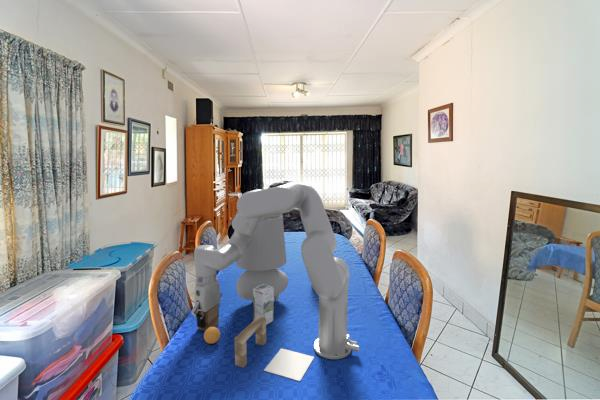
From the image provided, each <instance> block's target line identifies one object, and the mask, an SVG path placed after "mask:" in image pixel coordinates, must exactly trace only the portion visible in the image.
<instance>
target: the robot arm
mask: <svg viewBox="0 0 600 400" xmlns="http://www.w3.org/2000/svg"><path fill="white" fill-rule="evenodd" d="M296 208H297V209H298V210H299V213H300V220H301V223H302V226H303V229H304V232H305V235H306V236H305V238H304V239H303V241H302V244H301V248H300V253H301V254H300V255H301V257H302V261H303V264H304V267H305V270H306V272H307V275H308V279H309V281H310V283H311V284H312V286H311V287H312V289H313V291H314V292H315V294H316V295H318V338H317V339H315V341H314V344H313V349H314V351H315V352H316V354H317V355H318V356H319V357H321V358H324V359H327V360H328V359H329V360H341V359H344V358H346V357H348V356H349V355H350V353H351V351H354V352H356V353H357V352H359V353H360V345H358V341H356V340H351V339H350V334H348V308H349V307H348V306H349V305H348V303H349V299H348V298H349V284H350V269H349V266H348V264H347V262H345V260H344V259H342V258H340V257H337V256H334V253H335V251H336V248H337V243H338V242H337V239H336V236H335V232H334V231H333V228H332V224H331V222H330V219H329V215H328V214H327V211H326V208H325V206H324V203H323V200H322V198H321V196H320V194H319V192H318V191H317V190H316V189H315V188H314V187H312V186H311V185H309V184H307V183H304V182H298V181H293V182H286V183H285V184H281V185H278V186H274V187H269V188H265V189H260V188H259V189H257V188H256V189H253V190H250V191H246V192H244V193H242V194H241V195H240V196H239V198H238V200H237V202H236V210H237V213H236V214H235V216H234V218H233V219H232V221H231V226H232V229H233V230H234V231H233V233H232V235H231V237H230V238H229V240H228V241H227V243H226V244H224V245H222V246H220V247H219V248H215V246H214V245H211V244H201V245H198V246H196V247H195V248H194V251H193V252H194V256H193V257H194V270H195V271H194V272H195V273H194V274H195V287H194V305H193V308H192V310H191V311H190V313H191V315H192V316H193V317H195V318H196V327H197V328H198V327H199V328H203V329H204V328H205V318H203V317H204V313H205V312H207V311H208V310H210V309H211V308H213V307H214V306H216V305H218V317H220V310H219V307H220V302H221V298H222V296H223V293H221V288H220V283H219V280H218V278H217V276H218V275H217V271H224V270H226V269H227V268H229V267H230V266H231V265H232V264H234V263H236V261H237V260H238V259H239V258H240V257H241V256H242V254H243V253H244V251H245V250H246V248H247V247H248V245H249V244H250V241H251V239H252V236H253V233H254V232H255V230H256V229H257V227H258V226H259V224H260V223H261V221H262V220H263V218H264V217H266V216H271V215H277V214H282V215H283V214H287V213H288V212H291V211H292V210H294V209H296ZM200 308H201V309H200ZM200 311H202V313H201V315H200V314H199V313H200Z"/></svg>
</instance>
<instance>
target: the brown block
mask: <svg viewBox="0 0 600 400" xmlns="http://www.w3.org/2000/svg"><path fill="white" fill-rule="evenodd" d="M218 308H219V307H218V305H216V306H214V307H213V308H211V309H210V310H208V311H207V312H205V313H204V317H203V318H205V328H204V329H203V328H199V327H197V328H198V330H201V331H204V332H205V331H206V330H207V329H208V328H209V327H216V328H217V326H218V325H219V324H220V321H219V320H220V319H219V317H220V316H219V317H218ZM200 309H201V308H200ZM201 313H202V311H200V313H199V314H200V315H201Z"/></svg>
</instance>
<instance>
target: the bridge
mask: <svg viewBox="0 0 600 400" xmlns="http://www.w3.org/2000/svg"><path fill="white" fill-rule="evenodd" d="M254 334H255V344H256V345H260V346H264V345H265V344H266V343H267V325H266V318H263V317H259V316H258V317H257V318H256V319H255V320H254V319H253V321H252V322H251V323H250V324H248V325H247V326H246V327H245V328H244V329H243V330H242V331H240V332H239V333H238V335H236V336H235V337H234V339H233V340H234V341H233V342H234V364H235V365H234V366H237V367H240V368H245V367H246V366H247V364H248V359H247V358H248V356H247V355H248V353H247V352H248V351H247V348H248V347H247V341H248V340H249V338H251V337H252V336H253V335H254Z"/></svg>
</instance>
